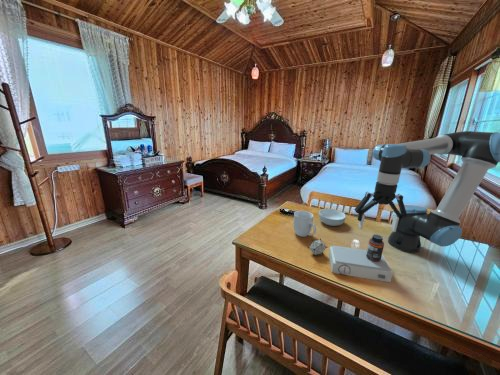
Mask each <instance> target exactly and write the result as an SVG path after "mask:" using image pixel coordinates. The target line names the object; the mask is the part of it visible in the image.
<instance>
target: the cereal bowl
mask: <svg viewBox="0 0 500 375" xmlns="http://www.w3.org/2000/svg"><path fill="white" fill-rule="evenodd" d="M346 217H347V216H346V214H345V213H344V212H343V211H341V210H338V209H336V208H335V209H334V208H322V209H320V210H319V211H318V218H319V220H320V221H321V222H322V223H323V224H325V225H326V226H332V227H335V226H340V225H343V223H344V222H345V221H346Z"/></svg>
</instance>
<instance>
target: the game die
mask: <svg viewBox="0 0 500 375" xmlns="http://www.w3.org/2000/svg"><path fill="white" fill-rule="evenodd" d="M327 248H328V246H326V245H325V244H324V242H323V241H322V238H319V239H317V240H311V244H310V246H308V247H307V249H309V250H310V251H311V252H312V253H313V257H316V256H318V255H324V251H325V250H326V249H327Z"/></svg>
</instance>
